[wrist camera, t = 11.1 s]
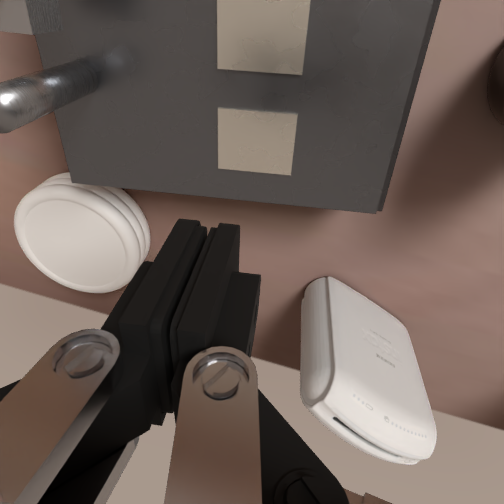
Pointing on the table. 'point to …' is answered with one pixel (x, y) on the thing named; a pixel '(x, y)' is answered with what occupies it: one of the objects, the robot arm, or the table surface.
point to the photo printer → (363, 375)
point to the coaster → (82, 234)
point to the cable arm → (30, 16)
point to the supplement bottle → (497, 88)
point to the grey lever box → (231, 96)
